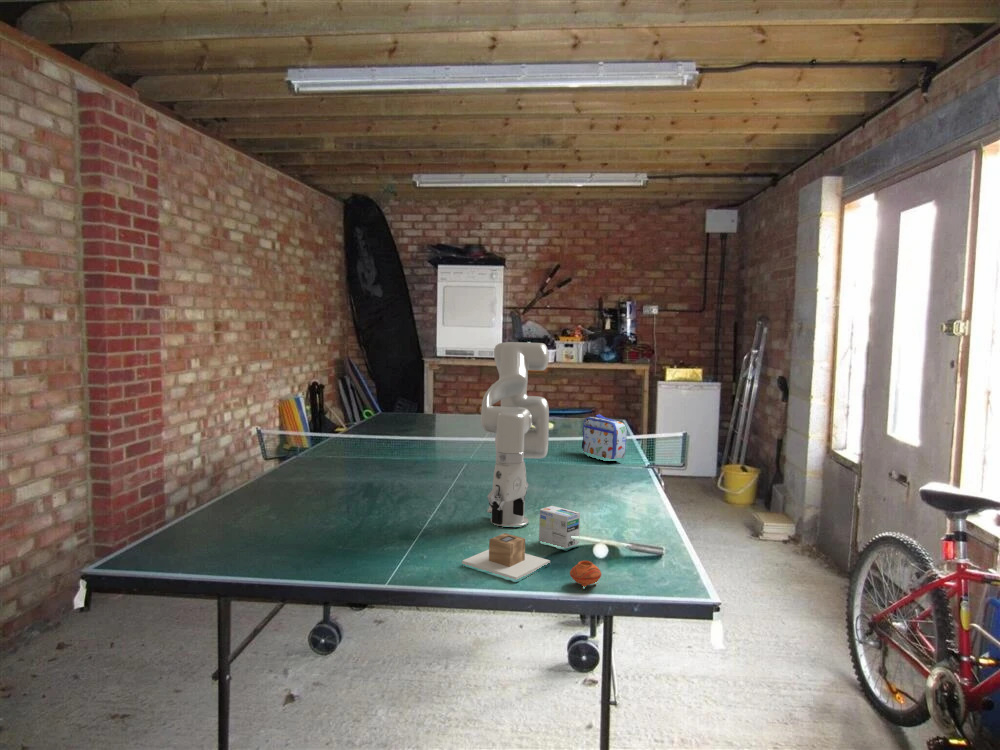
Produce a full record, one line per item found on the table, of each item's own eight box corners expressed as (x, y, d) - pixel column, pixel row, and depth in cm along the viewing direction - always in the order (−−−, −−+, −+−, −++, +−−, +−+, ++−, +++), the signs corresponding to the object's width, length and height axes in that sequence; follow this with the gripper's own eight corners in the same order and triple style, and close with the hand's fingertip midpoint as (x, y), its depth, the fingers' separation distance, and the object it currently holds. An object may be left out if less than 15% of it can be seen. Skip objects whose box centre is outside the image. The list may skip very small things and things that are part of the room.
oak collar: (509, 567, 172) (510, 545, 172) (488, 560, 176) (489, 539, 176) (524, 559, 178) (525, 538, 177) (504, 554, 182) (504, 533, 181)
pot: (603, 592, 160) (598, 566, 160) (572, 596, 162) (567, 570, 161) (603, 579, 168) (598, 554, 168) (574, 583, 169) (569, 558, 169)
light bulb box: (579, 547, 194) (581, 511, 193) (566, 552, 189) (567, 516, 188) (551, 538, 201) (552, 504, 200) (537, 543, 196) (538, 508, 195)
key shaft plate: (462, 565, 176) (462, 538, 175) (497, 550, 189) (498, 525, 188) (516, 583, 165) (517, 554, 165) (549, 565, 178) (550, 539, 177)
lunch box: (577, 455, 335) (578, 412, 333) (592, 453, 340) (594, 412, 339) (611, 465, 311) (613, 420, 310) (628, 464, 317) (630, 419, 315)
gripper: (501, 465, 166) (499, 530, 167) (539, 454, 179) (536, 514, 181) (478, 460, 170) (477, 523, 172) (516, 450, 184) (515, 509, 186)
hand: (507, 519), depth 176 cm, fingers open, 9 cm apart
